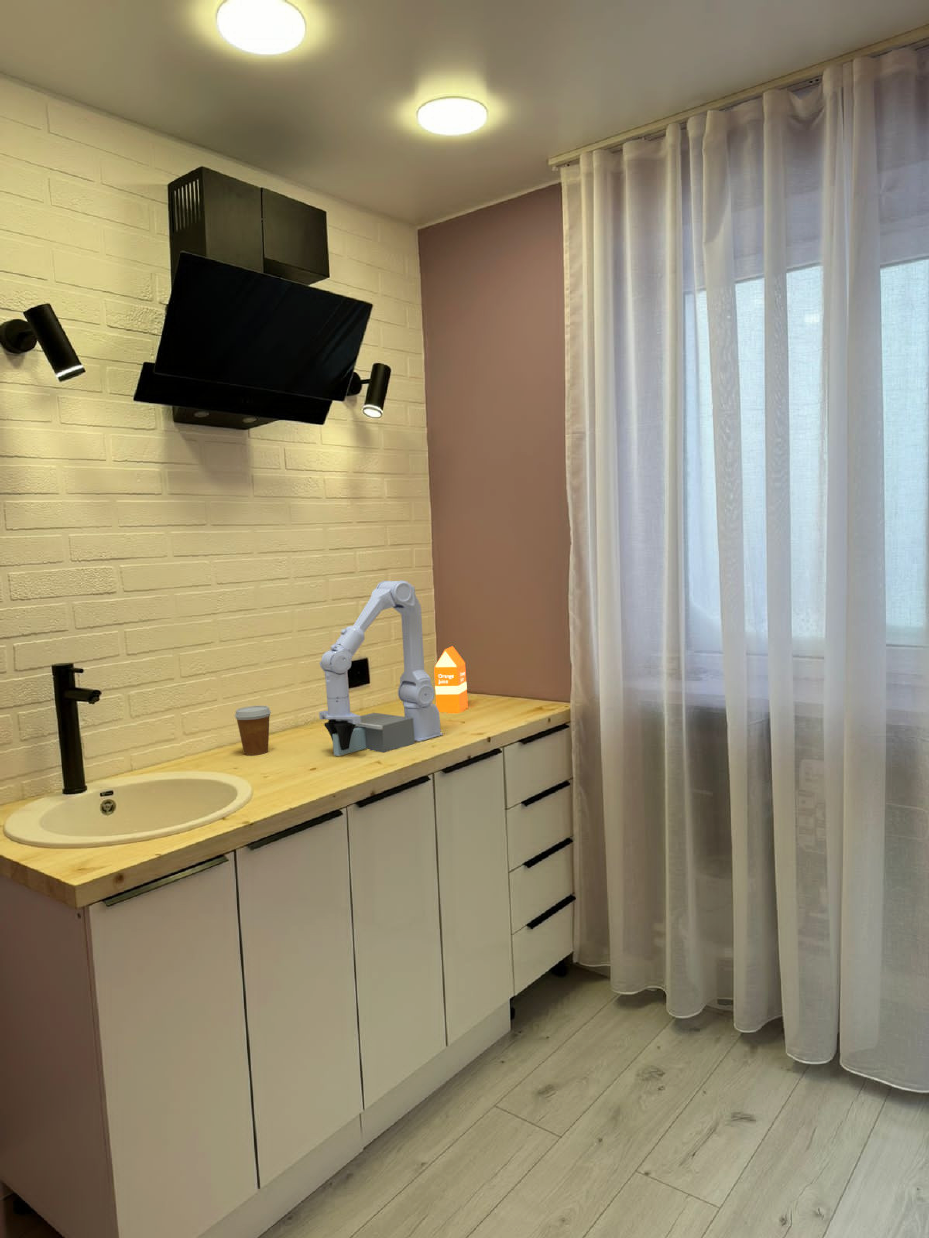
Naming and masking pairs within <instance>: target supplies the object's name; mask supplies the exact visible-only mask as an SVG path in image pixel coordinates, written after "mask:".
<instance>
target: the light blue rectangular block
mask: <svg viewBox="0 0 929 1238" xmlns="http://www.w3.org/2000/svg"><path fill="white" fill-rule="evenodd" d="M332 736H333V741H332V747H333V756H337V757H339V756H343V755H348V754H350V753H354V752H359V751H362V750H364V749H366V750H367V742H366V728H365V727H358V728H354V730H353V732H352V735H351V740H350V746H349V749H346V750H341V747H340V741H339V736H338V733H335V734H332Z"/></svg>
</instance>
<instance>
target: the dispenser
mask: <svg viewBox="0 0 929 1238" xmlns="http://www.w3.org/2000/svg"><path fill="white" fill-rule="evenodd" d="M360 718H361V723H358V724H356V725H355V727H354V728H358V727H365V728H366V742H367V748H366V750H367V749H370V750H369V751H372V750H374V752H378V753H386V752H387V751H388V752H391V751H394V750H398V749H401V748H405V747H407V746H411V745H414V744H416V743H415V742H416V741H415V739H414V725H413V718H410V717H405V716H402V715H401V716H400V715H393V714H388V713H387V714H386V713H377V712H371V713H367V714H363V715H360ZM404 746H405V747H404ZM393 749H394V750H393ZM390 750H391V751H390ZM388 752H387V753H388Z"/></svg>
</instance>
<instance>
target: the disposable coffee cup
mask: <svg viewBox="0 0 929 1238" xmlns="http://www.w3.org/2000/svg"><path fill="white" fill-rule="evenodd" d="M271 712H272V710H270V707H269V706H268V705H251V706H245V707H241V708H238V709H236V710H235V714H234V717H235V720H236V722H237V726H238V732H239V737H240V740H241V745H242V750H243V754H244V755H246V756H261V755H265V754H267V753H268V752H269V738H270V735H269V734H270V733H269V732H270V716H271V714H272V713H271Z"/></svg>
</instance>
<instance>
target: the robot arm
mask: <svg viewBox="0 0 929 1238" xmlns="http://www.w3.org/2000/svg"><path fill="white" fill-rule="evenodd" d="M390 608H391V609H392V608H393V609H394V610H395V611H397V613H398V614H400V617H401V632H402V633H401V634H402V635H401V636H402V650H403V655H402V656H403V668H404V669H403V670H404V671H403V673H402V674H401V676H400V677H399V685H398V689H397V696H398V698H399V700H400V701H401V702H402V706H403V713H404V717H410V718H413V725H414V739H415V742H423V741H425V740H429V739H433V738H437V737H439V736H442V735H443V732H441V720H440V719H441V717H440V713H439V710H438V708H437V704H435V703H433V701H434V699H435V696H436V691H435V689H434V687H433V684H432V679H431V677H430V675H429V674H428V673H427V671H425V656H424V641H423V640H424V638H423V622H422V621H423V619H422V607H421V603H420V601H419V600H418V597H417V595H416V587H414V586H413V585H412V584H411V583H409V581H406V580H382V581H380V582H378V584H377V586H376V587H375V588H374V589H373V590H372V592H371V595H370V597H369V600H368V602H367V603H366V604H365V606H364V608H363V609H362V611H361V613H360V614H359V616H357V619H356V620H355V622H354V624H353V625H350V626H349V625H348V626H346V627H345V628H342V629H341V631H340V636H339V637H338V638H337V640H336V641H335V643H334V644H332V645H331V646H330V650H327V651H325V652H324V653H323V654H322V657H321V660H320V661H319V665H320V668H321V669H322V671H323V673H324V679H325V689H326V692H325V693H326V702H327V703H326V705H327V710H323V711H319V712H318V713H319V715H318V716H319V720H327V722H324V723H323V725H324V728H325V729H326V730H327V732H328V733H329V735H330V738H331V741H332V742H333V736H332V734H335V733H338V736H339V741H340V747H341V750H346V749H349V746H350V740H351V735H352V732H353V730H354V727H355V725H356V724H358V723H361V718H360V716H361V715H359V714H355V713H354V712H351V703H350V702H351V701H350V690H349V677H348V670H350V669H351V667H352V659H353V657H354V655H355V654H356V653H357V651H358V650H359V648H360V647H361V646H362V645H363V643H364V641H365V640H366V639H365V638H366V636H365V632H366V631H367V630H368V629H369V627H370V626H371V625H372V623H374V621H375V619H377V617H378V616H379V615H380V614H381V612H382V611H383V610H386V609H390Z"/></svg>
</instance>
